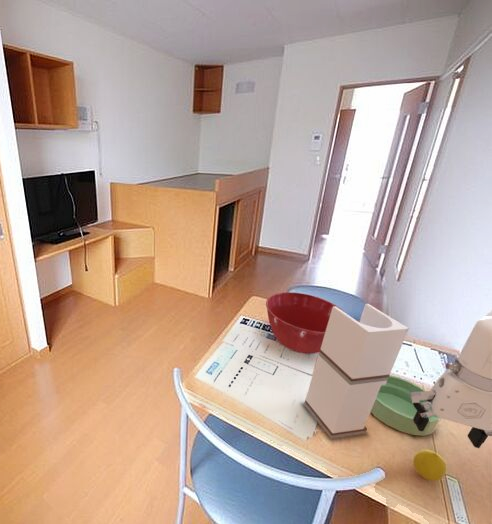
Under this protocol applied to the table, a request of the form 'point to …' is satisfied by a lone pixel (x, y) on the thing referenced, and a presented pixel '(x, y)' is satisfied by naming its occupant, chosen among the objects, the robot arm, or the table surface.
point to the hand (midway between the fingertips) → (444, 434)
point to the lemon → (429, 465)
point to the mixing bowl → (299, 320)
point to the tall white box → (352, 369)
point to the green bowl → (400, 407)
